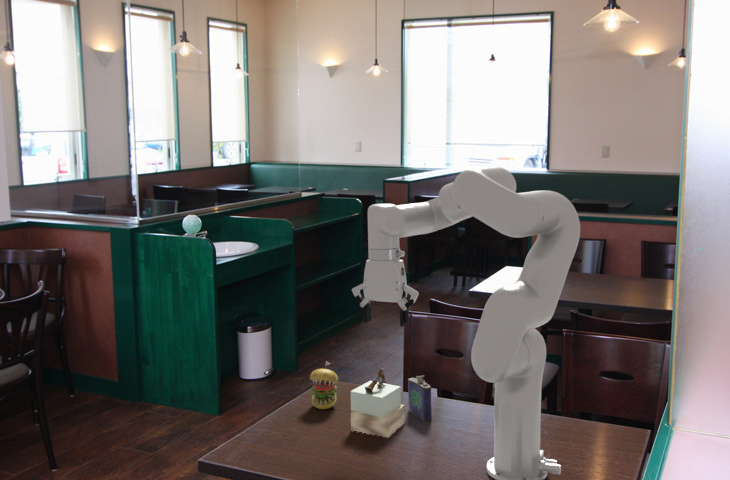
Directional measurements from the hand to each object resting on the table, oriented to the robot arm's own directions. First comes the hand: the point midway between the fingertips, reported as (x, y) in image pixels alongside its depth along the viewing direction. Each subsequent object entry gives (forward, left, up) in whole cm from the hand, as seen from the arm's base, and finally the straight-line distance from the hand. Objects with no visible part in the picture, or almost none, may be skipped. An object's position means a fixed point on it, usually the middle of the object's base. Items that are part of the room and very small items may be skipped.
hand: (385, 323), depth 171 cm
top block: (+2, +2, -21) cm, 21 cm away
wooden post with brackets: (+2, +3, -16) cm, 17 cm away
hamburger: (+20, -4, -26) cm, 33 cm away
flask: (-6, -8, -26) cm, 28 cm away
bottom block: (+1, +2, -26) cm, 26 cm away
